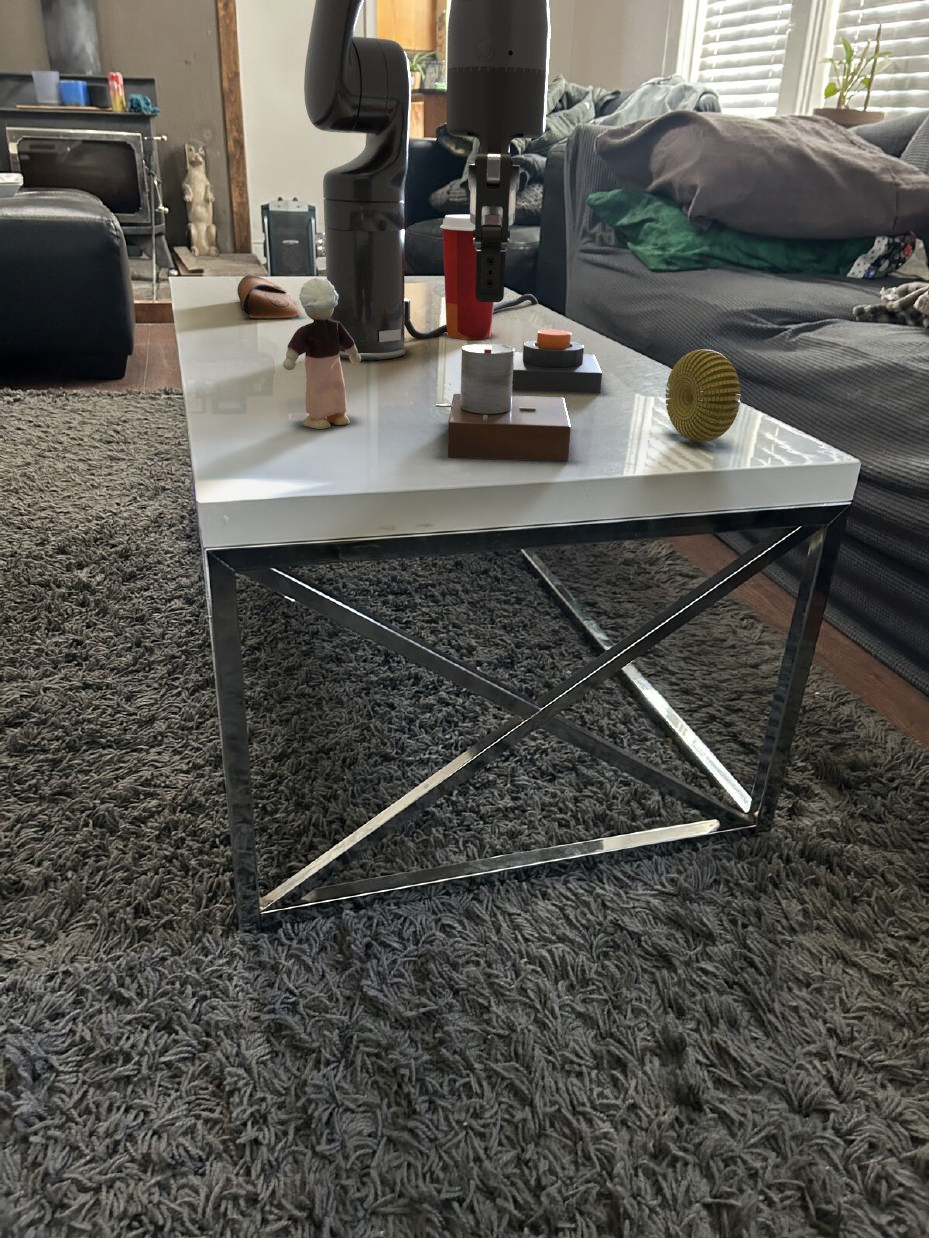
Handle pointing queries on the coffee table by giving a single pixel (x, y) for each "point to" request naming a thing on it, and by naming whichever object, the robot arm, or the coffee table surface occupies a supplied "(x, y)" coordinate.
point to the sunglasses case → (265, 299)
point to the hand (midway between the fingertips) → (489, 294)
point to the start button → (553, 339)
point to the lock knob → (486, 378)
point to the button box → (556, 369)
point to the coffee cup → (463, 282)
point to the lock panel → (511, 431)
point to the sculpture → (702, 395)
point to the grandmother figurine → (322, 355)
